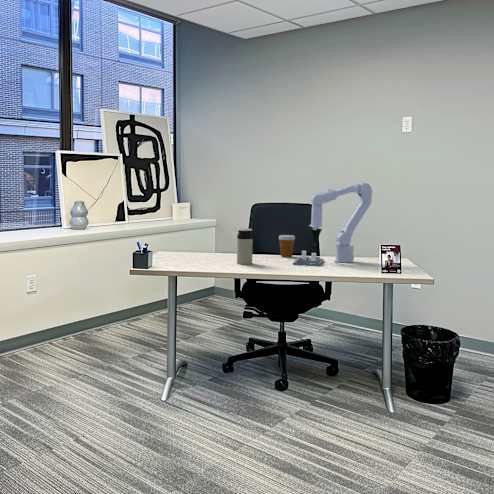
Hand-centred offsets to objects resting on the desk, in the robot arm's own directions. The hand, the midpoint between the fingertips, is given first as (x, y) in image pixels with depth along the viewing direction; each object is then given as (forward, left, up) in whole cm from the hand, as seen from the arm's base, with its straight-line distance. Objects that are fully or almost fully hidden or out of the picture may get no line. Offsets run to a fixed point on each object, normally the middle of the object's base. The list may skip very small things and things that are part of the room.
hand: (315, 242), depth 302 cm
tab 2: (0, +10, -9) cm, 13 cm away
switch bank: (+3, +7, -10) cm, 13 cm away
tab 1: (+6, +4, -9) cm, 11 cm away
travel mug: (+35, +19, -11) cm, 41 cm away
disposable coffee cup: (+18, -12, -11) cm, 24 cm away
